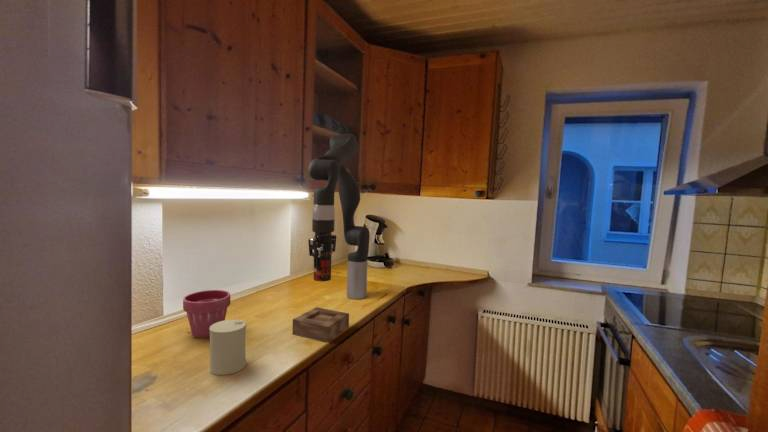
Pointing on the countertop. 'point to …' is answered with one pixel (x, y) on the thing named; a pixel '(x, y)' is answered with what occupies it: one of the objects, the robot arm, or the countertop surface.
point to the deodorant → (324, 260)
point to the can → (227, 346)
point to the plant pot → (205, 310)
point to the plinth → (321, 324)
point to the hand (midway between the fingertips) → (322, 266)
